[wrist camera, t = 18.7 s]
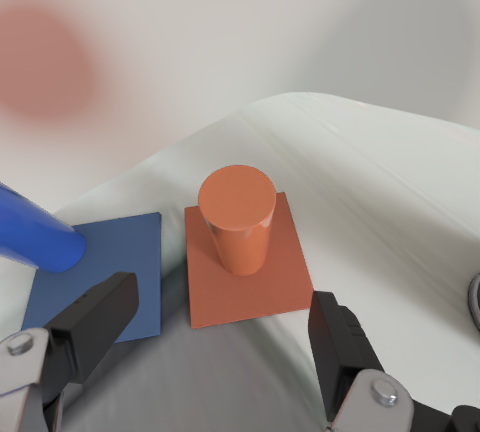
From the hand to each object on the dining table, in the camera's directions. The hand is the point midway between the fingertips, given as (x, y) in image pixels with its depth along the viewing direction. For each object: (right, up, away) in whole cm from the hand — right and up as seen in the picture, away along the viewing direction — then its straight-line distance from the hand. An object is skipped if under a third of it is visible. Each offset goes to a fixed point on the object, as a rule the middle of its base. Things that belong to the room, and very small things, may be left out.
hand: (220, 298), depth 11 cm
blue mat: (-14, -3, +14) cm, 20 cm away
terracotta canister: (+1, 0, +14) cm, 14 cm away
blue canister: (-19, 0, +15) cm, 24 cm away
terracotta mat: (+1, 0, +15) cm, 15 cm away
